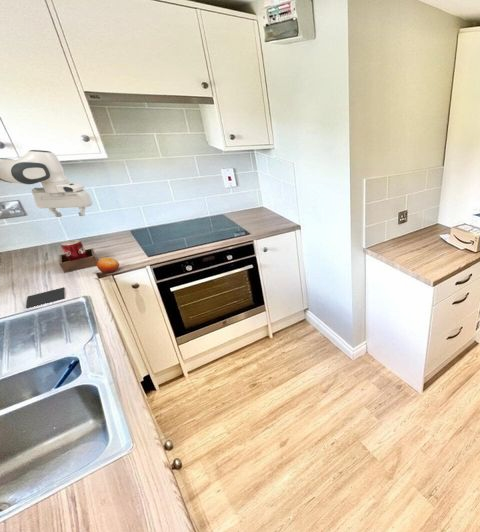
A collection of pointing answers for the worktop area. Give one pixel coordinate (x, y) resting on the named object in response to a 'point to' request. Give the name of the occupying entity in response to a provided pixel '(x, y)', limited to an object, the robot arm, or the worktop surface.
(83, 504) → the worktop surface
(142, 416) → the worktop surface
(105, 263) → the fruit
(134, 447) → the worktop surface
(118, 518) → the worktop surface
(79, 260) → the basket
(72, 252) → the soda can
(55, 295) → the mat
